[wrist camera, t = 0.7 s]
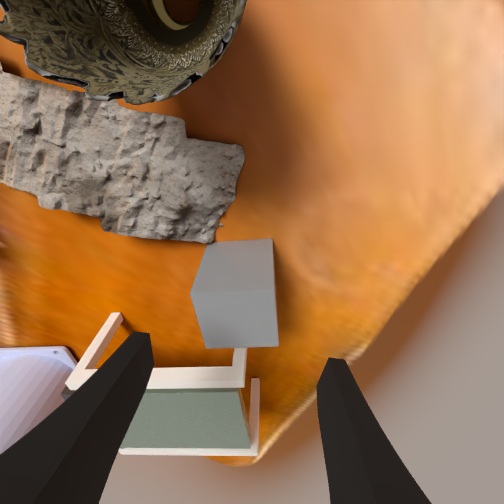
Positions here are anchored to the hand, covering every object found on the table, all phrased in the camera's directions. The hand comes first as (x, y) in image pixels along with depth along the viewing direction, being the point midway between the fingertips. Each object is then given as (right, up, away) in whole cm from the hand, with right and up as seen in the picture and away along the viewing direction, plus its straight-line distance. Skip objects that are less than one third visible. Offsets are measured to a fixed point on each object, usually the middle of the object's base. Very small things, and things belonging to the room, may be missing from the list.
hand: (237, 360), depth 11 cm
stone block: (0, +3, +9) cm, 10 cm away
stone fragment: (-12, +12, +6) cm, 18 cm away
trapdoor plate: (-6, -8, +11) cm, 14 cm away
